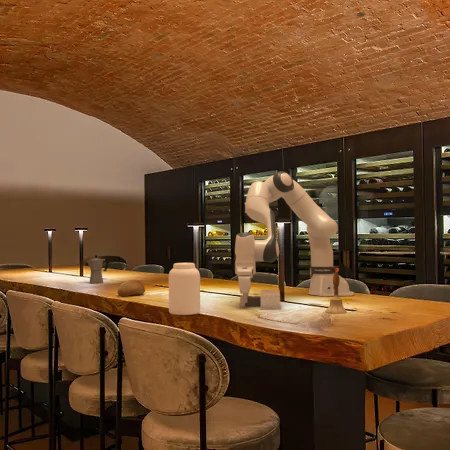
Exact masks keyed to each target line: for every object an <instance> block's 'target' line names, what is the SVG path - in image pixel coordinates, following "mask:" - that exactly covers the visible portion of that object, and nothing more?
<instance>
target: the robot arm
mask: <svg viewBox="0 0 450 450" xmlns="http://www.w3.org/2000/svg"><path fill="white" fill-rule="evenodd" d="M281 198H282V199H284V201H285V203H286V205H288V206H289V208H290V209H291V211H293V213H294V214H295V215H296V216H297V217H298V219H300V220H301V221H303V222H304V223H305V225H306V232H307V236H308V241H309V242H308V243H309V246H310V267H309V276H310V284H309V290H308V293H307V294H308V295H311V296H320V297H334V285H333V276H334V273H335V272H338V273H339V271H340V268H339V267H336V266H334V250H333V247H332V245H331V240H330V238H333V237H334V236H335V235H336V234H337V233H338V227H339V226H338V224H337V223H338V222H336V220H334V219H333V218H331V216H329V215H328V213H326V211H324V210H323V209H322V207H320V206H319V205H318V204H317V203H316V202H315V201H314V200H313V199H312V197H311V196H310V195H309V194H308V193H307V191H306V190H305V189H304V188H303V186H302V185H300V184H299V183H298V181H295V180H294V179H293V177H292V176H291V175H290V174H289V173H288V172H286V171H283V170H281V171H278V172H276V173H274V174H273V175H271V176H269V177H268V178H267V179H266V180H265V181H261V180H258V181H253V182H252V183H251V185H250V186H249V189H248V191H247V194H246V199H245V203H244V204H245V205H244V210H245V214H246V215H247V216H248V217H249V218H250V219H251V220H253V221H255V222H258V223H262V224H263V225H265V226H266V230H267V238H266V239H255V235H254V233H253V232H247V231H246V232H239V233H238V234H236V236H235V245H234V254H235V262H234V267H235V268H234V273H235V275H236V276H238V277H237V278H238V288H239V293H240V294H242V296H243V303H247V297H248V296H249V293H250V290H251V287H252V286H251V284H252V283H251V282H252V281H251V279H253V277H254V275H256V273H257V272H256V271H257V270H256V263H257V262H264V263H265V262H266V263H273V262H275V261H276V260H277V259H279V255H280V248H279V244H278V233H277V222H275V220H276V216H275V213H274V210H272V209H270V204H272V203H273V202H275V201H277V200H279V199H281ZM303 222H302V223H303ZM339 278H340V281H339V286H338V296H339V297H342V296H344V297H347V296H350V297H351V296H354V294H355V292H353V291H352V290H351V291H350V286H349V282H348V281H347V280H346V279H344V278H343V277H342V276H341V275H339Z"/></svg>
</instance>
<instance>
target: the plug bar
mask: <svg viewBox="0 0 450 450" xmlns="http://www.w3.org/2000/svg"><path fill="white" fill-rule="evenodd" d="M239 302H240V303H239V305H240V308H241V307H250V308H251V307H253V308H258V307H260V308H261V296H260V295H248V297H247V303H243V295H240V297H239Z"/></svg>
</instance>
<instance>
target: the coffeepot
mask: <svg viewBox="0 0 450 450" xmlns="http://www.w3.org/2000/svg"><path fill="white" fill-rule="evenodd" d="M94 257H95V258H91V259H87V260H85V262H86V263H87V264H88V265H89V269H90V275H89V276H90V277H89V284H90V285H97V284H103V283H104V280H103V279H104V278H103V274H102V271H103V272H107V271H108V267H109V263H110V261H109V259H108V258H98V255H94ZM103 262H104V263H105V266H104V267H105V268H104V269H103Z"/></svg>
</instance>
